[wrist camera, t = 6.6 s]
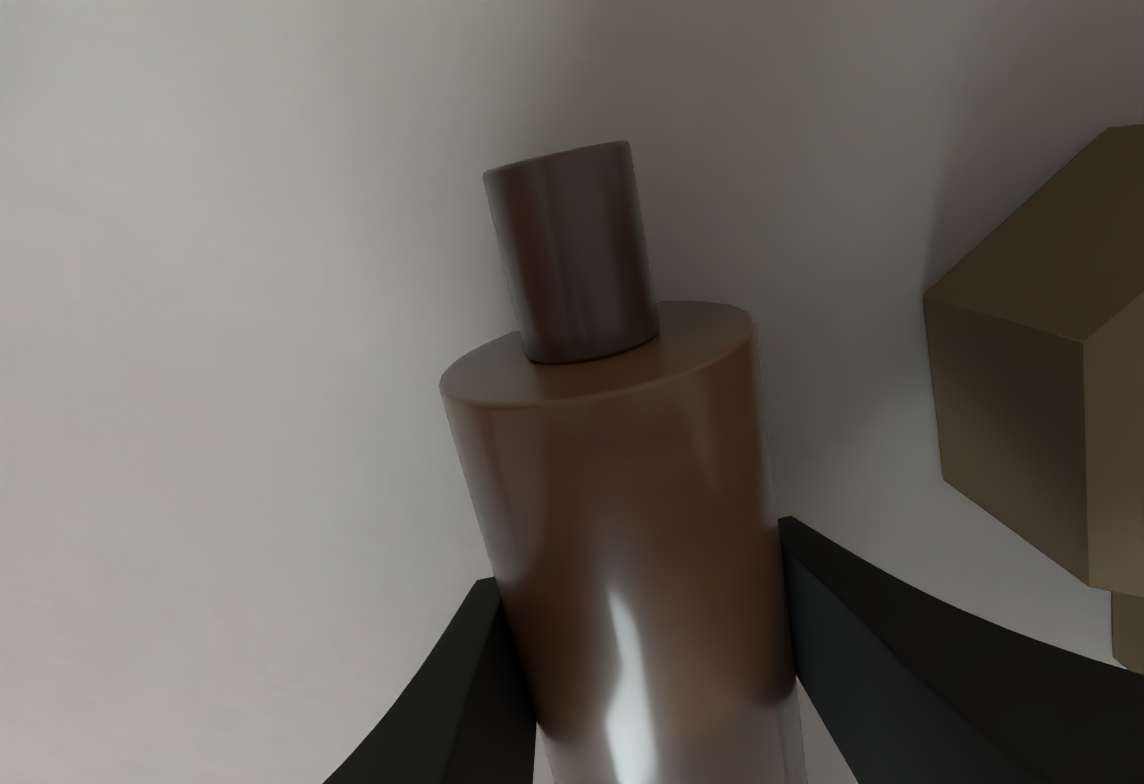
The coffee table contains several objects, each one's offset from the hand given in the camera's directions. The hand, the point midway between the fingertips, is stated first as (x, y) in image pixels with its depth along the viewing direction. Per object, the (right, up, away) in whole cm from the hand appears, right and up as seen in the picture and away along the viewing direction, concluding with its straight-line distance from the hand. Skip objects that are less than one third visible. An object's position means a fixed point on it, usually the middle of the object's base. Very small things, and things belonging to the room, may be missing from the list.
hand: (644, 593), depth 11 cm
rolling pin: (0, 0, -1) cm, 1 cm away
